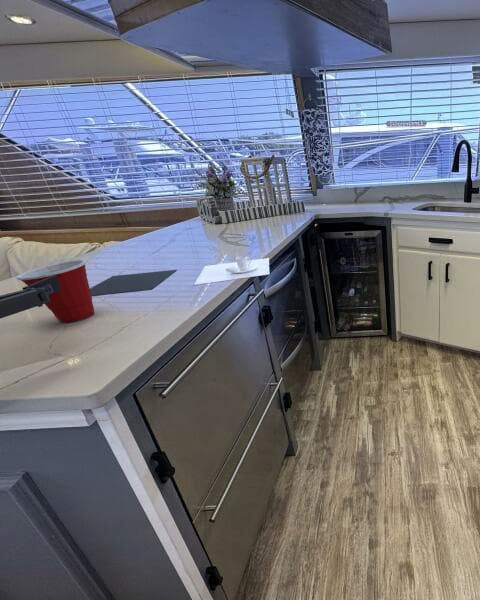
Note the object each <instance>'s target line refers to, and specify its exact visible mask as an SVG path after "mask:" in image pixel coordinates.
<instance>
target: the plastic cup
mask: <svg viewBox="0 0 480 600" xmlns="http://www.w3.org/2000/svg"><path fill="white" fill-rule="evenodd" d="M86 264H87V262H86V259H73V260H67V261H62V262H56V263H52V264H48V265H43V266H40V267H37V268H32V269H30V270H27V271H24V272H22V273H20V274H18V275H16V277H15V278H16V279H17V280H19V281H21V282H22V283H24V284H25V285H26V286H28V285H31V284H33V283H36V282H38V281H40V280H43V279H45V278H48V277H50V276H56V277H57V279H58V281H59V283H60V285H61V287H62V290H60V291H58V292H56V293H54V294H51V295H49V296H48V297H49V299H50V301H51V302H49V303H47V304H44V305H45V306H46V307H47V309H48V310H50V312H51V313H52V314H53V315H54V317H56V319H57V320H58V321H59V322H60V323H63V324H67V323H69V324H70V323H74V322H78V321H82V320H85V319H87V318H91V317H92V316H93V315H94V314H95V307H94V303H93V296H91V292H90V288H91V287H90V284H89V280H88V274H87V269H86Z"/></svg>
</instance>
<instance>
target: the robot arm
mask: <svg viewBox="0 0 480 600" xmlns="http://www.w3.org/2000/svg"><path fill="white" fill-rule="evenodd" d="M60 290H62V287H61V285H60V283H59V281H58V279H57V277H56V276H50V277H48V278H45V279H43V280H40V281H38V282H36V283H33V284H31V285H26V286H24V287H22V289H21V290H17V291H13V292H8V293H5V294H1V295H0V319H4V318H6V317H10V316H13V315H16V314H19V313H22V312H24V311H27V310H30V309H33V308H37V307H38V308H41V307H43V306H44V305H45V304H47V303H49V302H51V301H50V299H49V297H48V296H49V295H51V294H54V293H56V292H58V291H60Z"/></svg>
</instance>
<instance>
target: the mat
mask: <svg viewBox="0 0 480 600" xmlns="http://www.w3.org/2000/svg"><path fill="white" fill-rule="evenodd" d="M177 271H178V269H170V270H160V271H159V270H158V271H149V272H140V273H139V272H138V273H131V274H129V273H128V274H120V275H119V274H118V275H112V276H110V277H108V278H106V279H105V280H103V281H101V282H99V283H97V284H95V285H94V286H92V287H89V288H90V292H91V296H92V297H94V296H95V297H96V296H105V295H114V294H115V295H116V294H122V293H123V294H124V293H131V292H133V293H134V292H140V291H141V292H142V291H151V290H153V289H155V288H156V287H157V286H159V285H160V284H161V283H163V282H164V281H165V280H166V279H168V278H169V277H170V276H171V275H173V274H174V273H175V272H177Z"/></svg>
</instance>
